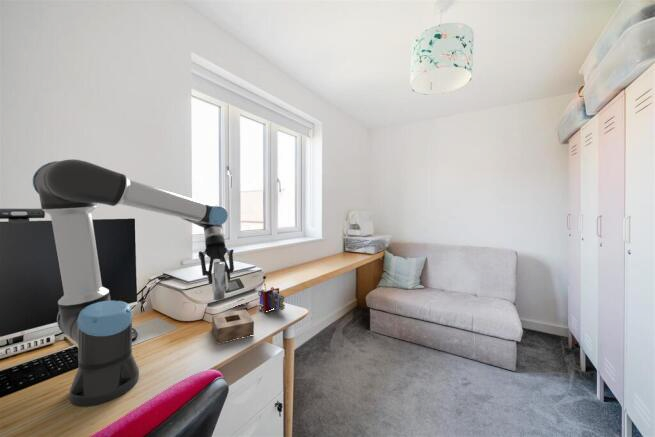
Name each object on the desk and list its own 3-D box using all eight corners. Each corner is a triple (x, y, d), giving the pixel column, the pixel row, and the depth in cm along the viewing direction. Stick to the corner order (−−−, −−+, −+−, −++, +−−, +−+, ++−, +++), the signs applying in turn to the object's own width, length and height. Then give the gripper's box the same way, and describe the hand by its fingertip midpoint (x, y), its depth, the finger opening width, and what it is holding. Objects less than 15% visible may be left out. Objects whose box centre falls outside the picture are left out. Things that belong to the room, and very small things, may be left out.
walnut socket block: (216, 344, 99) (217, 328, 99) (212, 328, 111) (212, 315, 111) (253, 335, 106) (253, 321, 106) (245, 322, 118) (245, 309, 118)
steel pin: (214, 300, 98) (214, 264, 97) (212, 297, 101) (212, 262, 101) (225, 299, 100) (225, 263, 99) (223, 295, 104) (223, 261, 103)
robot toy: (267, 304, 143) (291, 312, 130) (252, 309, 136) (277, 317, 123) (266, 273, 143) (290, 277, 130) (251, 276, 136) (275, 281, 123)
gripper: (234, 243, 117) (242, 290, 104) (192, 246, 108) (194, 297, 95) (236, 233, 112) (245, 281, 99) (192, 235, 104) (195, 287, 90)
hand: (220, 289), depth 97 cm, fingers closed on steel pin, 4 cm apart
